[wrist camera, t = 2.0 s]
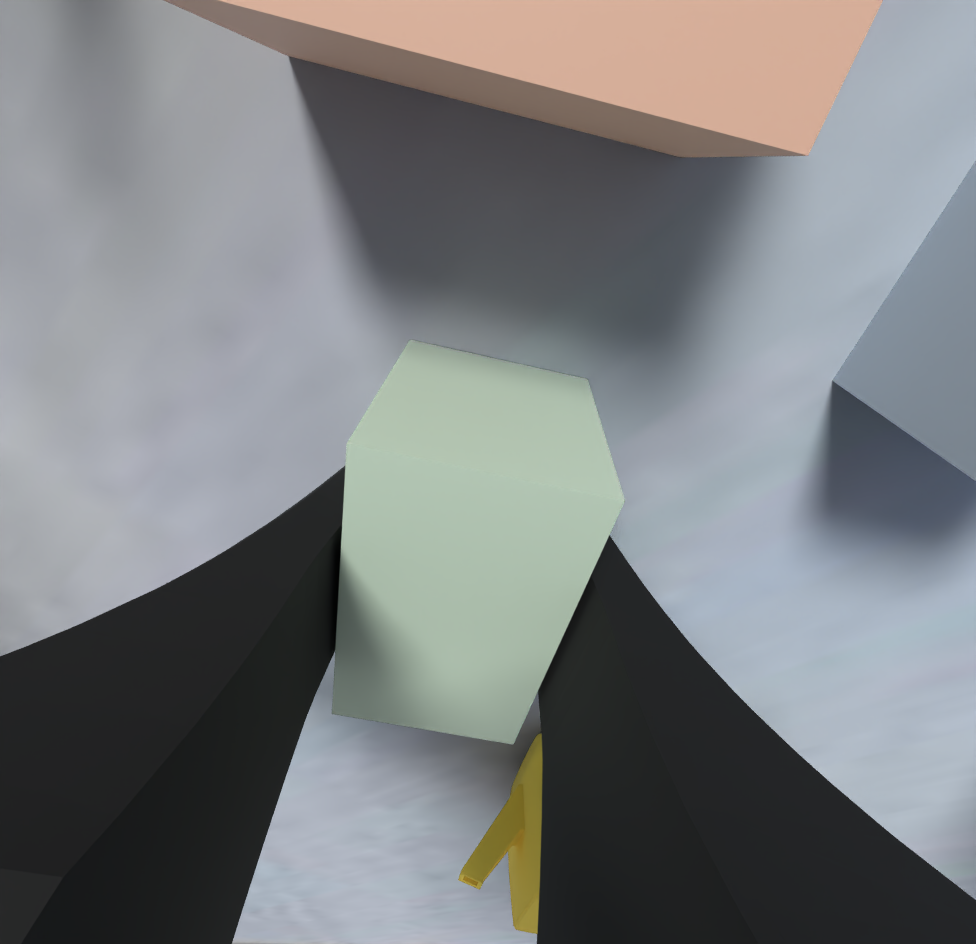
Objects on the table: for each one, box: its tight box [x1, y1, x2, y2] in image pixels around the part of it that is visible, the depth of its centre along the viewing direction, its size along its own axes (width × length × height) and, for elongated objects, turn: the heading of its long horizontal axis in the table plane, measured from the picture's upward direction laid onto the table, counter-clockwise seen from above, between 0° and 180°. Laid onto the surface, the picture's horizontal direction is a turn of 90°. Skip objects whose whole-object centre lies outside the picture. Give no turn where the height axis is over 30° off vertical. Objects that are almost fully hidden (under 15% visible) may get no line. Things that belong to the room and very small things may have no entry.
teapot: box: [458, 734, 542, 934], centre depth 15 cm, size 8×6×5 cm
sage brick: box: [332, 340, 625, 744], centre depth 9 cm, size 6×4×4 cm, turn 168°
